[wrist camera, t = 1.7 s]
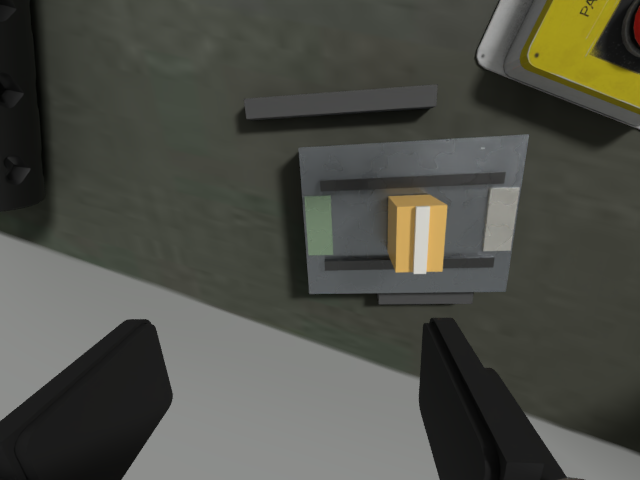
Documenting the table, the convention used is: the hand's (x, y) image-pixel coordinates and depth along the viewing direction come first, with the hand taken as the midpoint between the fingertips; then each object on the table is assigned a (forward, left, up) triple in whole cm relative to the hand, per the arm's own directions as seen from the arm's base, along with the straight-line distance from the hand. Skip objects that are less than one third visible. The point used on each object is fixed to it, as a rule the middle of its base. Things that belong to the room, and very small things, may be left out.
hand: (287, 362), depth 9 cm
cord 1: (-2, -9, -18) cm, 20 cm away
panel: (-7, 0, -18) cm, 19 cm away
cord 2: (-9, +7, -18) cm, 21 cm away
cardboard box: (-7, 0, -15) cm, 17 cm away
